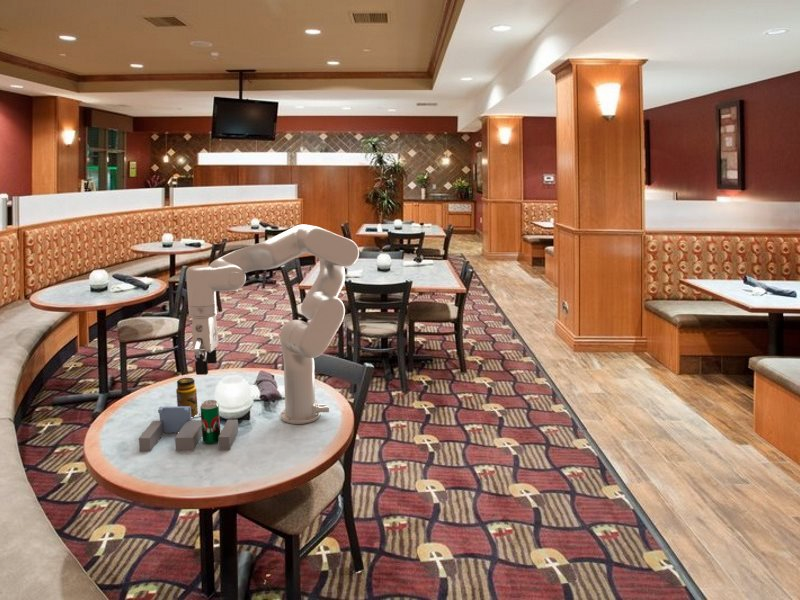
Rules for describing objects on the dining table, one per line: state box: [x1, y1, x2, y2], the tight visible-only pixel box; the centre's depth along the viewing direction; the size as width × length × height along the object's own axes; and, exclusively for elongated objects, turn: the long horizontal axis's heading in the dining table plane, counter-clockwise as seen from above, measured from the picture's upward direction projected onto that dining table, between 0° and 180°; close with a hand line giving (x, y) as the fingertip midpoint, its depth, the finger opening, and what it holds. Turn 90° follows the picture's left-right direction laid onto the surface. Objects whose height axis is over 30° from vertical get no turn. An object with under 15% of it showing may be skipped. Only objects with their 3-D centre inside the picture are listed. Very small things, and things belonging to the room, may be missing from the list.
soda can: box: [200, 399, 221, 445], centre depth 180 cm, size 5×5×12 cm
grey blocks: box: [138, 406, 239, 452], centre depth 180 cm, size 25×13×8 cm, turn 93°
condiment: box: [175, 377, 199, 417], centre depth 198 cm, size 7×8×12 cm
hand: (206, 368), depth 176 cm, fingers open, 9 cm apart
